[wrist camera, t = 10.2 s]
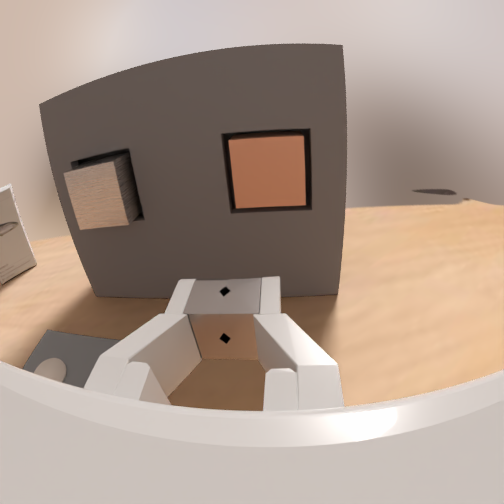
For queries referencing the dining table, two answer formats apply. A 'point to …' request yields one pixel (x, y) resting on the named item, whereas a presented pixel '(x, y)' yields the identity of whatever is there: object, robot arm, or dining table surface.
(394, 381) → the dining table surface
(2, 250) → the supplement box
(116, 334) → the dining table surface
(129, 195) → the grey button
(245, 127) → the panel
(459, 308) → the dining table surface
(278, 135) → the button terracotta
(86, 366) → the pattern card
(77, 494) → the robot arm
